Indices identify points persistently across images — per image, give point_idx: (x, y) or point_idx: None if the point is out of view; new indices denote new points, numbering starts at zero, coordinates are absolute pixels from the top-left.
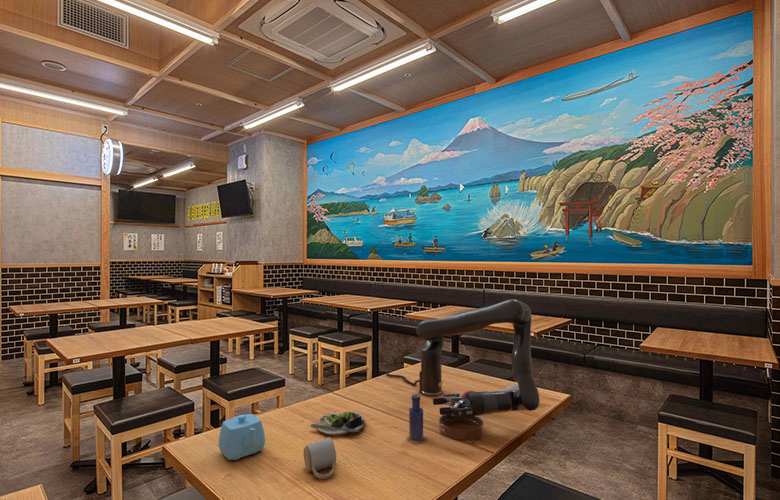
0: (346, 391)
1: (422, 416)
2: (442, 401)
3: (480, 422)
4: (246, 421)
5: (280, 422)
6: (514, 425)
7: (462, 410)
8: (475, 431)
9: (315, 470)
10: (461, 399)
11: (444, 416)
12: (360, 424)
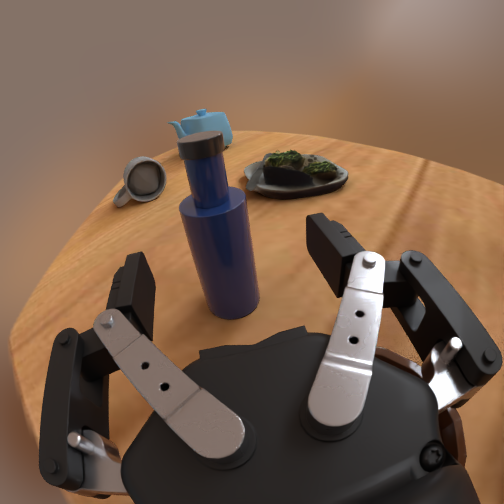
0: (446, 168)
1: (196, 237)
2: (336, 273)
3: None
4: (200, 116)
5: (291, 144)
6: None
7: (51, 387)
8: None
9: (120, 189)
10: (314, 425)
11: (389, 363)
12: (281, 185)
